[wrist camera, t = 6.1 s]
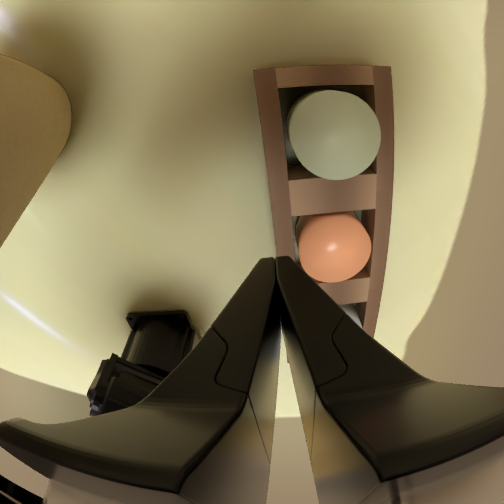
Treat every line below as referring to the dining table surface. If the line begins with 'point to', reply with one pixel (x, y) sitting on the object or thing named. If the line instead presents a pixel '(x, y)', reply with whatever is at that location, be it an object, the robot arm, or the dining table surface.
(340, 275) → the terracotta button
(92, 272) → the dining table surface
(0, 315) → the dining table surface
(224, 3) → the dining table surface
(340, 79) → the brown wooden flat tray
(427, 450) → the robot arm
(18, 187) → the plant pot
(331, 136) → the sage button
